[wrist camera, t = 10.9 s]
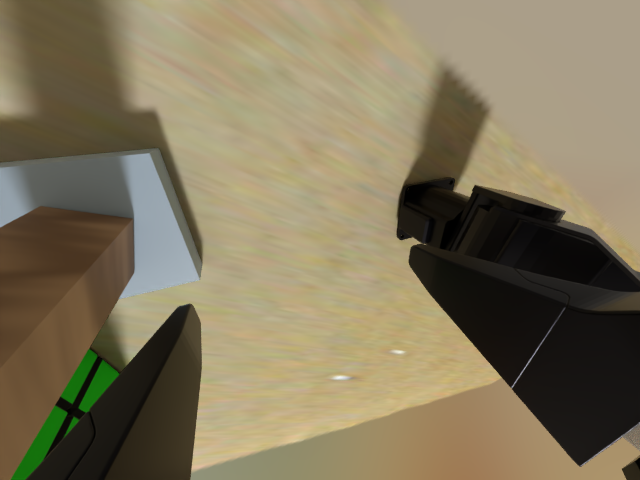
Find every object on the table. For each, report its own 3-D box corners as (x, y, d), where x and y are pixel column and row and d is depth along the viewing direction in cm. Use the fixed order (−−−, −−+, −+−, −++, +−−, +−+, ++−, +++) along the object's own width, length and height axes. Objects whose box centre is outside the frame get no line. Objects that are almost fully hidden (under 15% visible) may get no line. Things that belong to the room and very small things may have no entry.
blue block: (160, 146, 17) (149, 153, 14) (202, 260, 22) (199, 279, 19) (-25, 163, 14) (-79, 175, 12) (72, 288, 19) (49, 315, 17)
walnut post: (133, 218, 15) (-54, 428, 5) (134, 272, 17) (-5, 504, 7) (40, 206, 14) (-480, 481, 4) (52, 267, 15) (-279, 565, 5)
